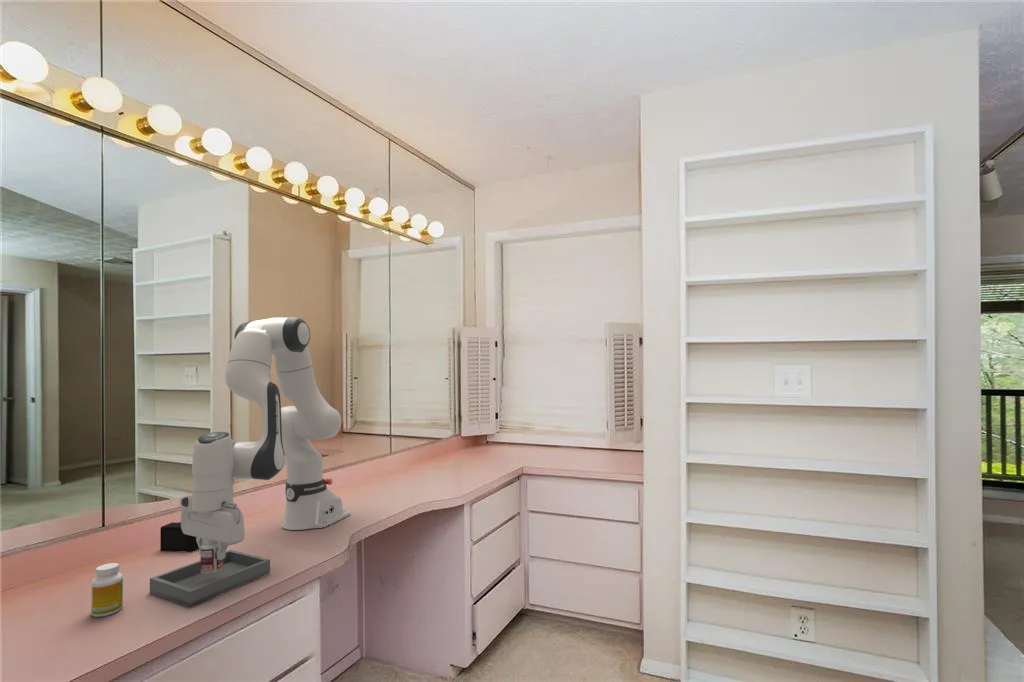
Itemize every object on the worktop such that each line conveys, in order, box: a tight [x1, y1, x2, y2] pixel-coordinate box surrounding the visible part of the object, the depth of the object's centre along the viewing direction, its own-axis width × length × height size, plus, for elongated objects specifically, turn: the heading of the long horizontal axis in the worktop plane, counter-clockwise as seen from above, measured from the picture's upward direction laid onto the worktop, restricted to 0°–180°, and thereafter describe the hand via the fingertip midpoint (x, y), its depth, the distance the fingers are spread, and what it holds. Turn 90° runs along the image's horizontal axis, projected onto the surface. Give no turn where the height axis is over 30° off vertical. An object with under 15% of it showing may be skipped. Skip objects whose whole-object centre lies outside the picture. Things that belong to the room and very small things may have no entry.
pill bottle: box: [200, 538, 223, 574], centre depth 125 cm, size 5×5×8 cm
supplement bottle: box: [90, 562, 124, 618], centre depth 111 cm, size 5×5×10 cm
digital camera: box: [159, 521, 199, 553], centre depth 149 cm, size 10×5×7 cm, turn 83°
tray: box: [149, 549, 271, 608], centre depth 125 cm, size 20×16×4 cm
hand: (212, 556), depth 125 cm, fingers closed on pill bottle, 5 cm apart
